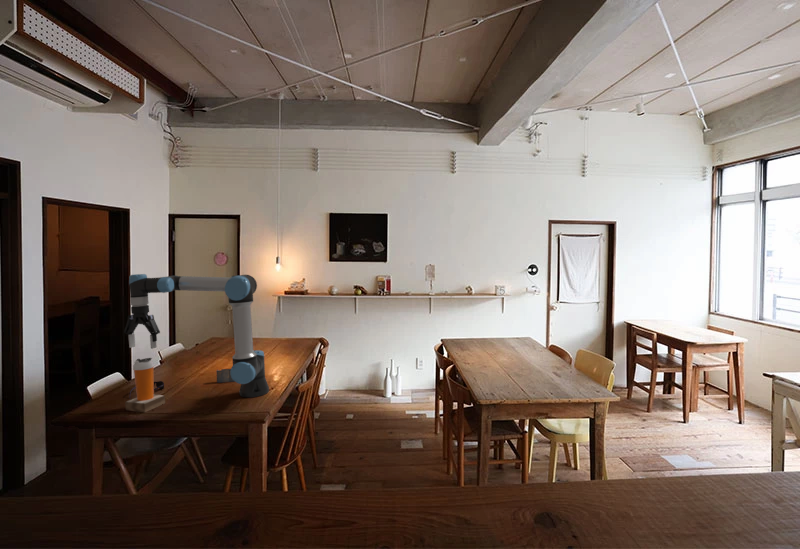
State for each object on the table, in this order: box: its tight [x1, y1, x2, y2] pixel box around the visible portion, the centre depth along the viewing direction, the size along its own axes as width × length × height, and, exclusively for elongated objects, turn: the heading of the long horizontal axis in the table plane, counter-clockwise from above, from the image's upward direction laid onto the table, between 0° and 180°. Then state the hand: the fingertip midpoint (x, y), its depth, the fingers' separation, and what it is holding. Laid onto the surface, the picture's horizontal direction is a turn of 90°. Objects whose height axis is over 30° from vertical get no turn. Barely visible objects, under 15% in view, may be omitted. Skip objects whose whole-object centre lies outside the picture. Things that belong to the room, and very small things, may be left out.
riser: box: [124, 394, 166, 413], centre depth 209 cm, size 12×12×4 cm
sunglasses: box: [128, 380, 165, 399], centre depth 230 cm, size 14×16×5 cm
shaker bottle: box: [132, 357, 155, 401], centre depth 209 cm, size 9×9×20 cm
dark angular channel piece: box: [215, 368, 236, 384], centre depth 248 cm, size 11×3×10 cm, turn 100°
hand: (142, 347), depth 208 cm, fingers open, 13 cm apart
